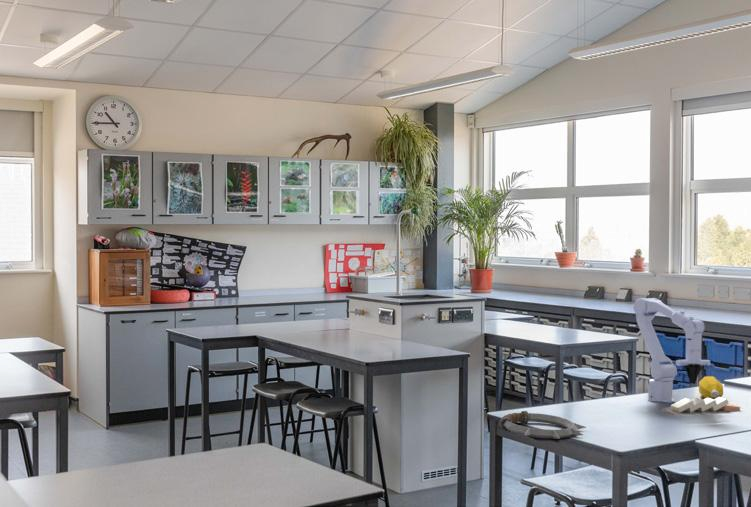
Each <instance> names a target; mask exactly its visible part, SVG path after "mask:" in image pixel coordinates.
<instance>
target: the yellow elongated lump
mask: <svg viewBox="0 0 751 507" xmlns="http://www.w3.org/2000/svg"><path fill="white" fill-rule="evenodd" d="M698 392H699V394H700V395H701V396H702V397H703V398H704V399H705V398H707V397H708V398H711V399H716V398H717V397H722V398H723V395H724V385H723V383H722V382H720V380H718V379H717V378H716V377H715V376H704V377H702V379H701V380H700V381H699V382H698Z"/></svg>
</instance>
